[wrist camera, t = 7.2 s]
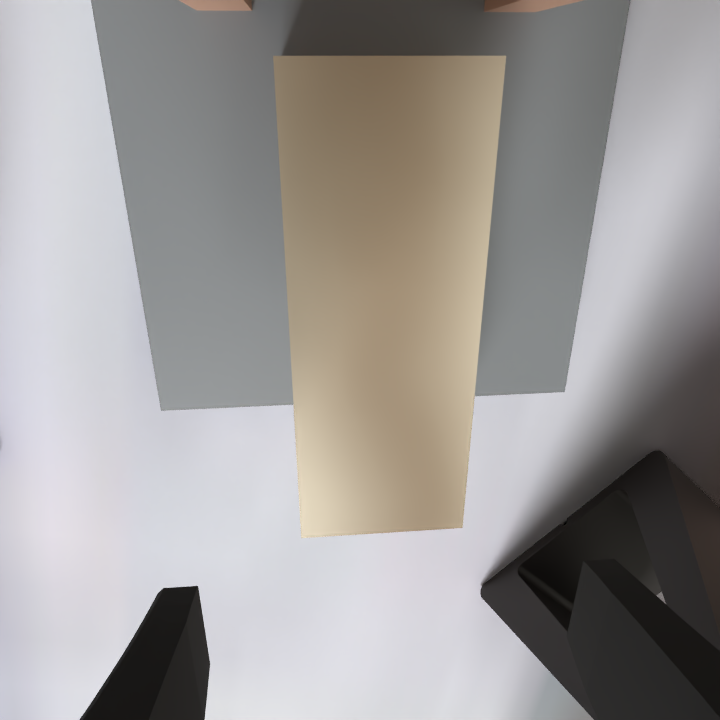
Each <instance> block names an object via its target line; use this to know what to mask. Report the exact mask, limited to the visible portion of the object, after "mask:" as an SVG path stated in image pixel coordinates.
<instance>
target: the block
mask: <svg viewBox="0 0 720 720" xmlns="http://www.w3.org/2000/svg"><path fill="white" fill-rule="evenodd" d="M273 62H274V79H275V97H276V114H277V131H278V148H279V165H280V182H281V199H282V216H283V233H284V250H285V267H286V284H287V301H288V318H289V335H290V352H291V369H292V386H293V403H294V421H295V438H296V455H297V472H298V489H299V506H300V523H301V538H310V537H326V536H342V535H357V534H373V533H389V532H404V531H420V530H436V529H451V528H462V526H463V515H464V505H465V494H466V483H467V472H468V462H469V451H470V440H471V429H472V419H473V408H474V397H475V386H476V376H477V365H478V354H479V343H480V332H481V322H482V311H483V300H484V289H485V279H486V268H487V257H488V246H489V236H490V225H491V214H492V203H493V193H494V182H495V171H496V160H497V150H498V139H499V128H500V117H501V107H502V96H503V85H504V74H505V64H506V56H273Z"/></svg>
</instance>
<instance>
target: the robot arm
mask: <svg viewBox="0 0 720 720" xmlns="http://www.w3.org/2000/svg"><path fill="white" fill-rule="evenodd" d="M567 639H568V642H569V645H570V648H571V651H572V654H573V657H574V660H575V663H576V666H577V669H578V672H579V675H580V677H581V680H582V683H583V686H584V688H585V691H586V694H587V696H588V698H589V700H590V702H591V704H592V707H593V709H594V711H595V713H596V715H597V717H598V719H599V720H720V651H719V650H718V649H717V648H716V647H714V646H713V645H712V644H711V643H710V642H709V641H707V640H706V639H705V638H704V637H703V636H702V635H700V634H699V633H698V632H697V631H696V630H695V629H693V628H692V627H691V626H690V625H689V624H688V623H686V622H685V621H684V620H683V619H682V618H681V617H680V616H678V615H677V614H676V613H675V612H674V611H673V610H672V609H671V608H669V607H668V606H667V605H666V604H665V603H664V602H663V601H662V600H660V599H659V598H658V597H657V596H656V595H655V594H654V593H653V592H651V591H650V590H649V589H648V588H647V587H646V586H645V585H644V584H642V583H641V582H640V581H639V580H638V579H637V578H636V577H635V576H633V575H632V574H631V573H630V572H629V571H628V570H627V569H626V568H624V567H623V566H622V565H621V564H620V563H619V562H617V561H616V560H615V559H602V560H587V561H583V565H582V569H581V574H580V578H579V583H578V587H577V592H576V596H575V601H574V605H573V610H572V614H571V619H570V623H569V628H568V632H567ZM209 668H210V661H209V654H208V648H207V641H206V635H205V629H204V622H203V616H202V609H201V603H200V596H199V590H198V586H191V587H176V588H163V589H162V590H161V591H160V592H159V593H158V594H157V596H156V598H155V600H154V602H153V604H152V605H151V607H150V609H149V611H148V613H147V614H146V616H145V618H144V620H143V621H142V623H141V625H140V627H139V628H138V630H137V632H136V633H135V635H134V637H133V638H132V640H131V642H130V643H129V645H128V647H127V648H126V650H125V652H124V653H123V655H122V656H121V658H120V660H119V661H118V663H117V664H116V666H115V667H114V669H113V670H112V672H111V674H110V675H109V677H108V678H107V680H106V681H105V683H104V684H103V686H102V687H101V689H100V690H99V692H98V693H97V695H96V697H95V698H94V700H93V701H92V703H91V704H90V706H89V707H88V708H87V710H86V711H85V713H84V714H83V716H82V717H81V718H80V720H204V719H205V709H206V700H207V689H208V679H209Z"/></svg>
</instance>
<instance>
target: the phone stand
mask: <svg viewBox="0 0 720 720" xmlns="http://www.w3.org/2000/svg"><path fill="white" fill-rule="evenodd" d="M567 519H568V521H567V524H566V525H564V526H561V525H558V526H557V527H556V528H555V529H553V530H552V531H551V532H549V533H548V534H547V535H546V536H544V537H543V538H542V539H541V540H539V541H538V542H537V543H536V544H534V545H533V546H532V547H530V548H529V549H528V550H527V551H525V552H524V553H523V554H522V555H520V556H519V557H518V558H517V559H515V560H514V561H513V562H511V563H510V564H509V565H508V566H506V567H505V568H504V569H503V570H501V571H500V572H499V573H498V574H496V575H495V576H494V577H492V578H491V579H490V580H489V581H487V582H486V583H485V584H484V585H483V586H482V588H481V597H482V598H483V599H484V600H485V602H486V603H487V604H488V605H489V606H490V607H491V608H492V609H493V610H494V611H495V612H496V613H497V615H498V616H499V617H500V618H501V619H502V620H503V621H504V622H505V623H506V624H507V625H508V627H509V628H510V629H511V630H512V631H513V632H514V633H515V634H516V635H517V636H518V637H519V638H520V640H521V641H522V642H523V643H524V644H525V645H526V646H527V647H528V648H529V649H530V650H531V652H532V653H533V654H534V655H535V656H536V657H537V658H538V659H539V660H540V661H541V662H542V663H543V665H544V666H545V667H546V668H547V669H548V670H549V671H550V672H551V673H552V674H553V675H554V677H555V678H556V679H557V680H558V681H559V682H560V683H561V684H562V685H563V686H564V687H565V689H566V690H567V691H568V692H569V693H570V694H571V695H572V696H573V697H574V698H575V699H576V700H577V702H578V703H579V704H580V705H581V706H582V707H583V708H584V709H585V710H586V711H587V712H588V714H589V715H590V716H591V717H592V718H593V719H594V720H599V719H598V717H597V715H596V713H595V711H594V709H593V707H592V704H591V702H590V700H589V698H588V696H587V694H586V691H585V688H584V686H583V683H582V680H581V677H580V675H579V672H578V669H577V666H576V663H575V660H574V657H573V654H572V651H571V648H570V645H569V642H568V639H567V632H568V628H569V623H570V619H571V614H572V610H573V605H574V601H575V596H576V592H577V587H578V583H579V578H580V574H581V569H582V565H583V561H587V560H602V559H615V560H616V561H617V562H619V563H620V564H621V565H622V566H623V567H624V568H626V569H627V570H628V571H629V572H630V573H631V574H632V575H633V576H635V577H636V578H637V579H638V580H639V581H640V582H641V583H642V584H644V585H645V586H646V587H647V588H648V589H649V590H650V591H651V592H653V593H654V594H655V595H657V594H658V593H660V592H661V591H662V593H663V596H664V599H665V602H666V605H667V606H668V607H669V608H671V609H672V610H673V611H674V612H675V613H676V614H677V615H678V616H680V617H681V618H682V619H683V620H684V621H685V622H686V623H688V624H689V625H690V626H691V627H692V628H693V629H695V630H696V631H697V632H698V633H699V634H700V635H702V636H703V637H704V638H705V639H706V640H707V641H709V642H710V643H711V644H712V645H713V646H714V647H716V648H717V649H718V650H719V651H720V509H719V508H718V507H717V506H716V505H715V504H714V503H713V502H712V501H711V500H710V499H709V498H708V497H707V496H706V495H705V494H704V493H703V492H702V491H701V490H700V489H699V488H698V487H697V486H696V485H695V484H694V483H693V482H692V481H691V480H690V479H689V478H688V477H687V476H686V475H685V474H684V473H683V472H682V471H681V470H680V469H679V468H678V467H677V466H676V465H675V464H674V463H673V462H671V461H670V460H669V459H668V458H667V457H666V456H665V455H664V454H663V453H662V452H660V451H653V452H651V453H650V454H648V455H647V456H646V457H645V458H643V459H642V460H641V461H639V462H638V463H637V464H636V465H634V466H633V467H632V468H631V469H629V470H628V471H627V472H626V473H624V474H623V475H622V476H620V477H619V478H618V479H617V480H615V481H614V482H613V483H612V484H610V485H609V486H608V487H606V488H605V489H604V490H603V491H601V492H600V493H599V494H598V495H596V496H595V497H594V498H593V499H591V500H590V501H589V502H587V503H586V504H585V505H584V506H582V507H581V508H580V509H579V510H577V511H576V512H575V513H574V514H572V515H571V516H570V517H568V518H567Z"/></svg>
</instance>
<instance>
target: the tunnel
mask: <svg viewBox="0 0 720 720" xmlns="http://www.w3.org/2000/svg"><path fill="white" fill-rule="evenodd" d="M179 1H181V2H183V3H184V4H186V5H188V6H190V7H191V8H193V9H195V10H199V11H252V1H251V0H179ZM579 1H583V0H485V5H484V12H538V11H543V10H547V9H551V8H555V7H559V6H563V5H567V4H571V3H575V2H579Z"/></svg>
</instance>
